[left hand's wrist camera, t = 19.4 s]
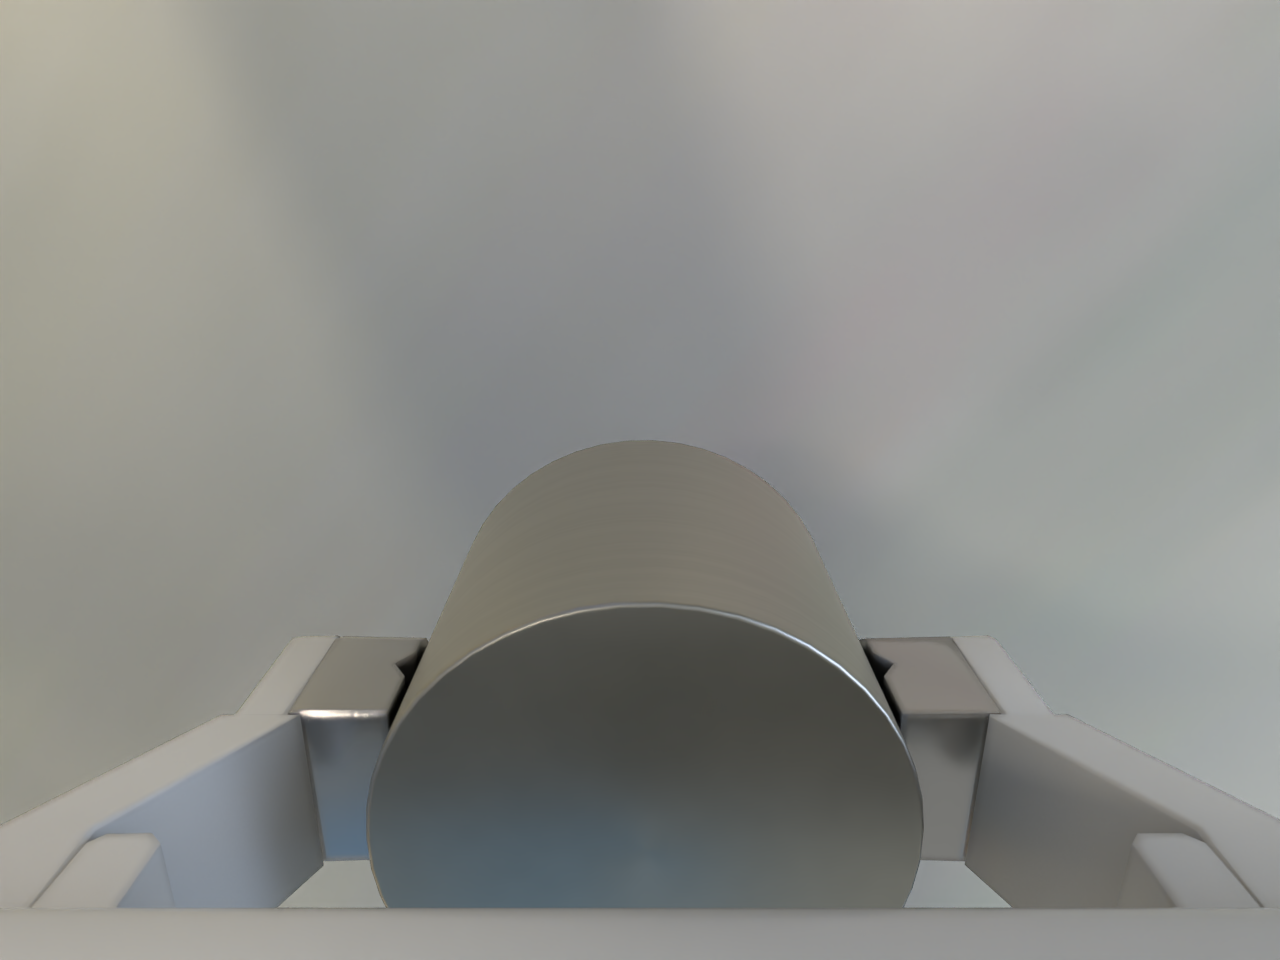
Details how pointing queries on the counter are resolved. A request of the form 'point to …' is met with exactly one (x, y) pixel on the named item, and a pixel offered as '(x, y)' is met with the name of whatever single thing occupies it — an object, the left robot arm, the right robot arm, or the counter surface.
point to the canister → (644, 709)
